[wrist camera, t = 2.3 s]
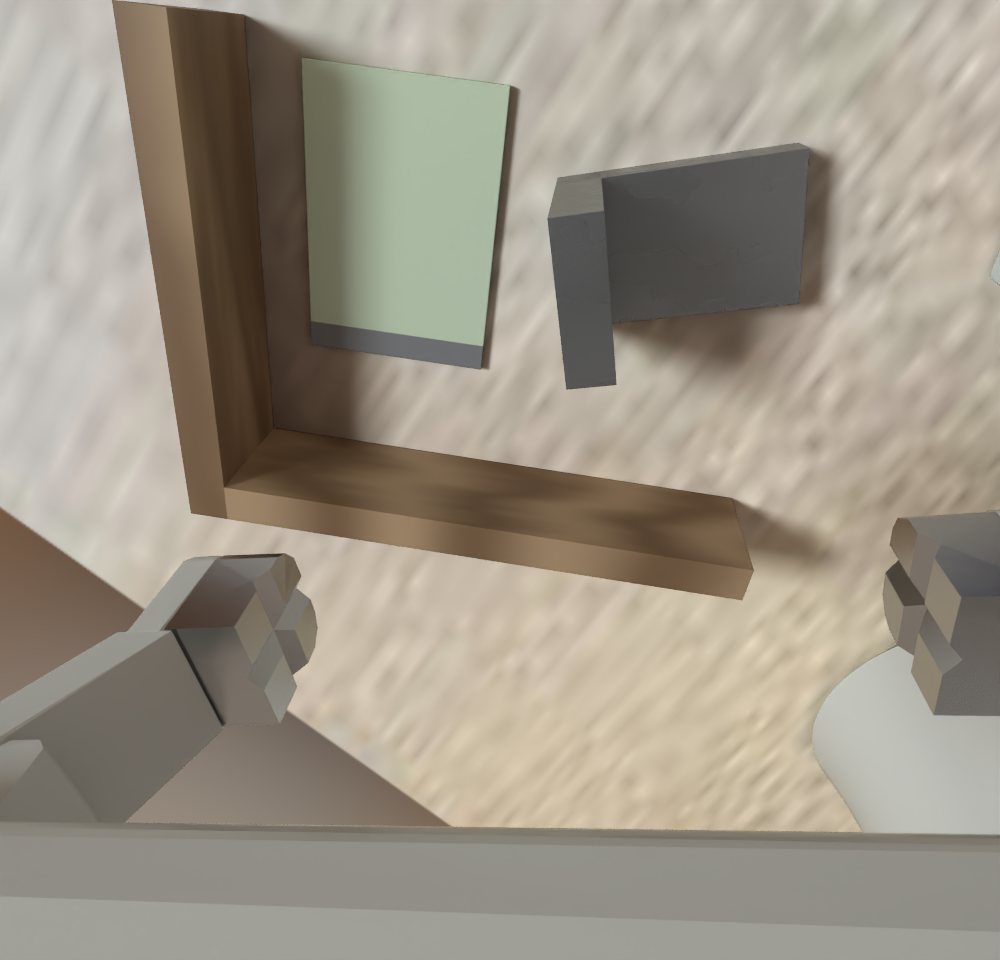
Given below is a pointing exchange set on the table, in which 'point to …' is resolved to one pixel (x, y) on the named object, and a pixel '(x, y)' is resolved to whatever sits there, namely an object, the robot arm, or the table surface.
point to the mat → (401, 209)
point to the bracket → (673, 246)
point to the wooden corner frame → (327, 460)
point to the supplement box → (996, 270)
